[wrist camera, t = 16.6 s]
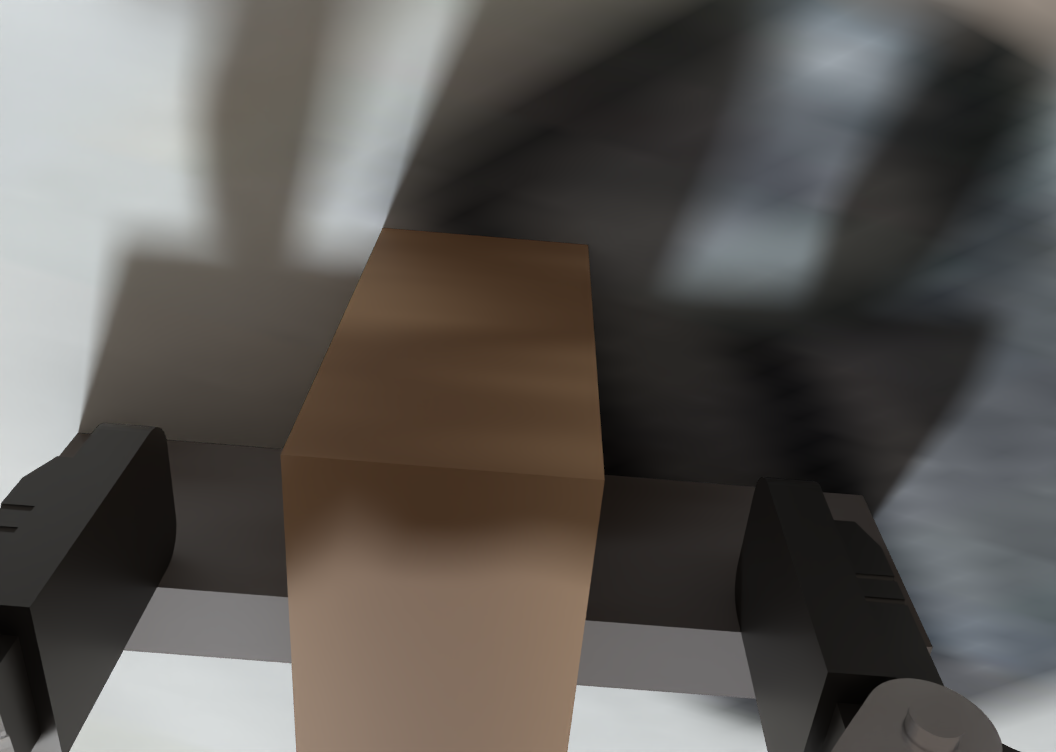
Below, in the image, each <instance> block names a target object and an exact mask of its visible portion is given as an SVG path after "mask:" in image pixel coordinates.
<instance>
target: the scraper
mask: <svg viewBox="0 0 1056 752" xmlns="http://www.w3.org/2000/svg"><path fill="white" fill-rule="evenodd" d="M90 435H91V434H83V433H77V435H76V436H75V437H74V438H73V440H72V441H71V442H70V443H69V445H68V446H67V447H66V448H65V450H64V451H63V452H62V453H61V455H60V456H59V457H71V458H73V457H74V456H75V454H76V453H77V452H78V451H79V449H80V448H81V447H82V445H83V444H84V443H85V442H86V440H87V439H88V438H89V437H90ZM167 445H168V454H169V462H170V470H171V479H172V487H173V495H174V504H175V512H176V522H177V529H176V541H175V546H174V551H173V555H172V558H171V561H170V564H169V566H168V568H167V570H166V572H165V574H164V576H163V577H162V579H161V581H160V583H159V585H158V587H157V589H156V590H155V592H154V594H153V596H152V598H151V600H150V602H149V603H148V605H147V607H146V609H145V611H144V613H143V615H142V617H141V618H140V620H139V622H138V624H137V626H136V628H135V630H134V631H133V633H132V635H131V637H130V639H129V641H128V643H127V644H126V646H125V648H124V650H126V651H139V652H152V653H165V654H178V655H191V656H204V657H217V658H231V659H244V660H257V661H270V662H283V663H292V679H293V698H294V717H295V735H296V752H567V750H568V742H569V735H570V728H571V721H572V713H573V706H574V699H575V692H576V685H584V686H597V687H610V688H623V689H636V690H649V691H662V692H675V693H688V694H701V695H714V696H727V697H740V698H753V699H756V697H755V693H754V688H753V684H752V679H751V675H750V671H749V666H748V662H747V657H746V653H745V648H744V644H743V640H742V635H741V631H740V626H739V622H738V617H737V612H736V605H735V579H736V571H737V565H738V560H739V556H740V552H741V547H742V543H743V539H744V534H745V530H746V525H747V521H748V517H749V512H750V508H751V504H752V499H753V495H754V491H755V487H751V486H738V485H726V484H713V483H701V482H688V481H676V480H663V479H651V478H638V477H626V476H613V475H604V464H603V450H602V435H601V421H600V407H599V393H598V379H597V365H596V350H595V336H594V322H593V308H592V294H591V280H590V265H589V251H588V245H584V244H572V243H560V242H548V241H536V240H524V239H512V238H500V237H487V236H475V235H463V234H451V233H439V232H427V231H415V230H403V229H391V228H382V231H381V233H380V235H379V237H378V239H377V242H376V244H375V246H374V248H373V251H372V253H371V255H370V257H369V259H368V262H367V264H366V266H365V268H364V270H363V273H362V275H361V277H360V279H359V282H358V284H357V286H356V288H355V290H354V293H353V295H352V297H351V299H350V302H349V304H348V306H347V308H346V310H345V313H344V315H343V317H342V319H341V321H340V324H339V326H338V328H337V330H336V333H335V335H334V337H333V339H332V341H331V344H330V346H329V348H328V350H327V353H326V355H325V357H324V359H323V361H322V364H321V366H320V368H319V370H318V372H317V375H316V377H315V379H314V381H313V384H312V386H311V388H310V390H309V392H308V395H307V397H306V399H305V401H304V403H303V406H302V408H301V410H300V412H299V415H298V417H297V419H296V421H295V423H294V426H293V428H292V430H291V432H290V435H289V437H288V439H287V441H286V443H285V446H284V448H283V449H273V448H260V447H248V446H235V445H222V444H210V443H197V442H184V441H172V440H167ZM823 494H824V496H825V499H826V502H827V504H828V507H829V509H830V512H831V514H832V517H833V519H834V520H841V521H853V522H856V523H857V524H858V525H859V526H860V527H861V528H862V529H863V530H864V531H865V532H866V533H867V534H868V535H869V536H870V537H871V538H872V539H873V540H874V541H875V542H876V543H877V544H879V545H880V546H881V547H882V549H883V552H884V554H885V556H886V558H887V560H888V563H889V565H890V567H891V569H892V572H893V574H894V581H895V582H897V583H898V585H899V587H900V589H901V592H902V594H903V596H904V598H905V605H908V607H909V609H910V612H911V614H912V616H913V618H914V620H915V623H916V625H917V627H918V629H919V632H920V634H921V636H922V638H923V640H924V643H925V645H926V647H927V649H928V652H929V654H930V653H931V650H932V648H933V647H932V645H931V643H930V640H929V638H928V636H927V634H926V632H925V630H924V627H923V625H922V623H921V621H920V619H919V617H918V614H917V612H916V610H915V608H914V606H913V604H912V601H911V599H910V597H909V595H908V593H907V591H906V588H905V586H904V584H903V582H902V580H901V577H900V575H899V573H898V571H897V569H896V567H895V564H894V562H893V560H892V558H891V556H890V554H889V551H888V549H887V547H886V545H885V543H884V541H883V538H882V536H881V534H880V532H879V530H878V528H877V525H876V523H875V521H874V519H873V517H872V515H871V512H870V510H869V508H868V506H867V504H866V501H865V499H864V497H863V495H851V494H838V493H826V492H823Z"/></svg>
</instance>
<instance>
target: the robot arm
mask: <svg viewBox="0 0 1056 752" xmlns="http://www.w3.org/2000/svg"><path fill="white" fill-rule="evenodd" d="M176 529H177V522H176V512H175V504H174V495H173V487H172V479H171V470H170V462H169V454H168V445H167V439H166V436H165V433H164V431H163V430H162V429H161V428H160V427H149V426H137V425H125V424H112V423H102V424H100V425H99V426H98V427H97V428H96V429H95V430H94V431H93V433H92V434H91V435H90V437H89V438H88V439H87V440H86V442H85V443H84V444H83V445H82V447H81V448H80V449H79V451H78V452H77V453H76V454H75V456H74V457H73V458H71V457H59V456H57V457H55V458H54V459H52V460H51V461H49V462H47V463H46V464H44V465H42V466H41V467H39V468H37V469H36V470H34V471H33V472H31V473H29V474H28V475H26V476H24V477H23V478H22V479H21V480H20V481H19V483H18V484H17V485H16V486H15V487H14V489H13V490H12V491H11V492H10V493H9V494H8V496H7V497H6V498H5V499H4V500H3V502H2V503H1V508H0V752H69V751H70V749H71V747H72V745H73V743H74V741H75V739H76V737H77V736H78V734H79V732H80V730H81V728H82V726H83V724H84V723H85V721H86V719H87V717H88V715H89V713H90V711H91V710H92V708H93V706H94V704H95V702H96V700H97V698H98V697H99V695H100V693H101V691H102V689H103V687H104V685H105V684H106V682H107V680H108V678H109V676H110V674H111V672H112V670H113V669H114V667H115V665H116V663H117V661H118V659H119V657H120V656H121V654H122V652H123V650H124V648H125V646H126V644H127V643H128V641H129V639H130V637H131V635H132V633H133V631H134V630H135V628H136V626H137V624H138V622H139V620H140V618H141V617H142V615H143V613H144V611H145V609H146V607H147V605H148V603H149V602H150V600H151V598H152V596H153V594H154V592H155V590H156V589H157V587H158V585H159V583H160V581H161V579H162V577H163V576H164V574H165V572H166V570H167V568H168V566H169V564H170V561H171V558H172V555H173V551H174V546H175V541H176ZM735 605H736V612H737V617H738V622H739V626H740V631H741V635H742V640H743V644H744V648H745V653H746V657H747V662H748V666H749V671H750V675H751V679H752V684H753V688H754V693H755V697H756V702H757V706H758V711H759V715H760V719H761V724H762V728H763V733H764V737H765V742H766V746H767V750H768V752H1020V751H1017V750H1015V749H1012V748H1010V747H1008V746H1006V745H1004V744H1002V743H1001V739H1000V737H999V734H998V732H997V730H996V728H995V727H994V725H993V724H992V722H991V721H990V720H989V718H988V717H987V716H986V715H985V714H984V713H983V712H982V711H981V710H980V709H979V708H978V707H977V706H976V705H975V704H973V703H972V702H971V701H969V700H968V699H966V698H965V697H963V696H962V695H960V694H958V693H957V692H955V691H953V690H951V689H949V688H947V687H944V685H943V683H942V680H941V678H940V676H939V674H938V672H937V669H936V667H935V665H934V663H933V660H932V658H931V656H930V654H929V652H928V649H927V647H926V645H925V643H924V640H923V638H922V636H921V634H920V632H919V629H918V627H917V625H916V623H915V620H914V618H913V616H912V614H911V612H910V609H909V607H908V605H905V598H904V596H903V594H902V592H901V589H900V587H899V585H898V583H897V582H895V581H894V574H893V572H892V569H891V567H890V565H889V563H888V560H887V558H886V556H885V554H884V552H883V549H882V547H881V546H880V545H879V544H877V543H876V542H875V541H874V540H873V539H872V538H871V537H870V536H869V535H868V534H867V533H866V532H865V531H864V530H863V529H862V528H861V527H860V526H859V525H858V524H857V523H856V522H853V521H841V520H834V519H833V517H832V514H831V512H830V509H829V507H828V504H827V502H826V499H825V496H824V494H823V491H822V489H821V487H820V485H819V484H818V483H817V482H816V481H804V480H792V479H779V478H767V477H761V478H760V479H759V480H758V482H757V484H756V487H755V491H754V495H753V499H752V504H751V508H750V512H749V517H748V521H747V525H746V530H745V534H744V539H743V543H742V547H741V552H740V556H739V560H738V565H737V571H736V579H735Z"/></svg>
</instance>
